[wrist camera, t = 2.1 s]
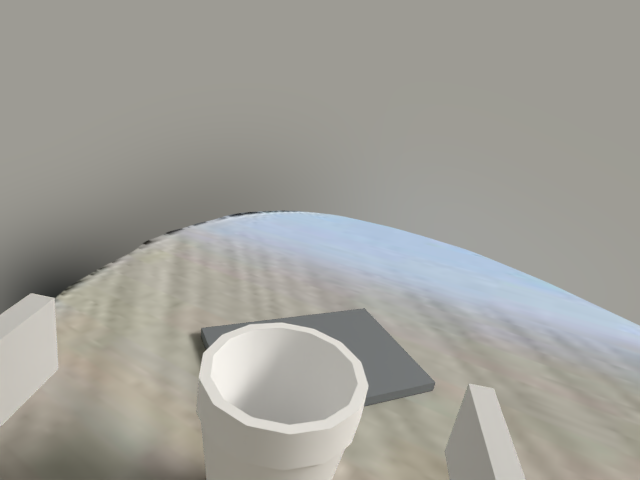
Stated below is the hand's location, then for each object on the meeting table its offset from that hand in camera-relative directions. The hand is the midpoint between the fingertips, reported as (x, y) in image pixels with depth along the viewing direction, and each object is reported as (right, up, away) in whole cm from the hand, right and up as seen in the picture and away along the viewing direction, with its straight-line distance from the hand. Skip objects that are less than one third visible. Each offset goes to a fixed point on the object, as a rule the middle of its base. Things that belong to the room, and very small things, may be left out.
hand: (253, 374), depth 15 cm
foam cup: (-2, -15, +17) cm, 23 cm away
